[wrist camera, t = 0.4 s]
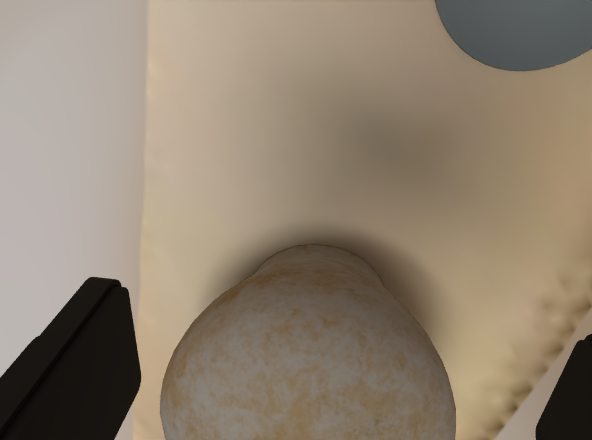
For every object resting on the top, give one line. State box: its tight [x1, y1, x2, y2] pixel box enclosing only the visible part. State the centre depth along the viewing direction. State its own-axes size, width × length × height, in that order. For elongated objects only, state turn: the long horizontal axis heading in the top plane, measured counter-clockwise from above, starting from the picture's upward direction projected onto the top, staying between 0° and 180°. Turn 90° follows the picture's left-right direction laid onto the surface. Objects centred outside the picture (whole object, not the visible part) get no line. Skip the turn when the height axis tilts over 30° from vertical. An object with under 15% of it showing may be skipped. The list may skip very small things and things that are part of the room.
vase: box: [160, 244, 456, 440], centre depth 33 cm, size 22×22×30 cm
